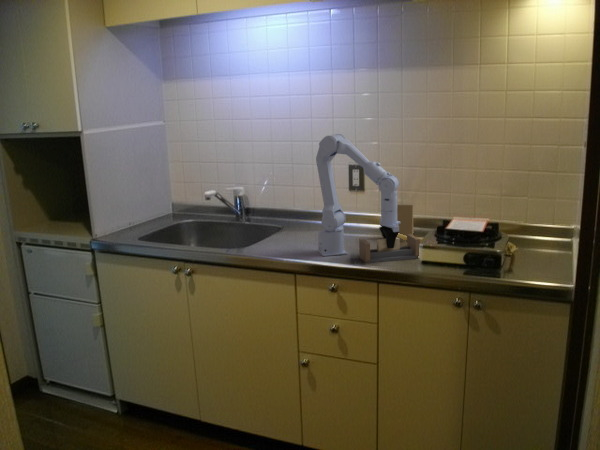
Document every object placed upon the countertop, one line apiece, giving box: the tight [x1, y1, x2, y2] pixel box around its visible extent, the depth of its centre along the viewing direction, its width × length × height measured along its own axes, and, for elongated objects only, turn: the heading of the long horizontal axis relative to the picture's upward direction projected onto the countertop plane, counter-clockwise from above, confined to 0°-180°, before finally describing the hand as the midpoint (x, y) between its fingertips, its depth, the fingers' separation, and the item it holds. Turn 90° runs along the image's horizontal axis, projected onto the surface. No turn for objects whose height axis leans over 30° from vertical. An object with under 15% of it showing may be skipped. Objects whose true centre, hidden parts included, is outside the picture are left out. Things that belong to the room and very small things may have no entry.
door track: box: [358, 234, 421, 264], centre depth 205 cm, size 20×8×7 cm, turn 101°
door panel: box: [376, 237, 401, 252], centre depth 205 cm, size 8×2×6 cm, turn 101°
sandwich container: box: [396, 203, 415, 242], centre depth 235 cm, size 9×15×15 cm, turn 167°
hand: (389, 247), depth 205 cm, fingers closed on door panel, 2 cm apart
